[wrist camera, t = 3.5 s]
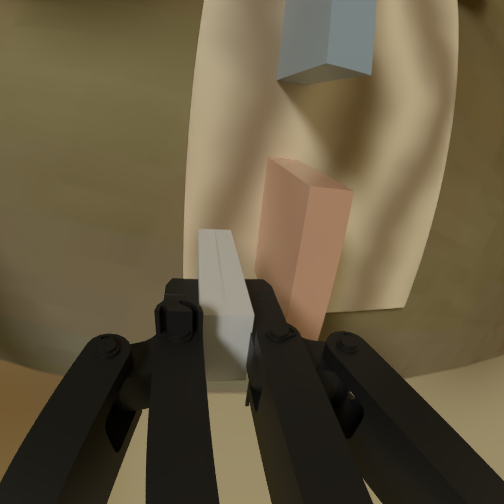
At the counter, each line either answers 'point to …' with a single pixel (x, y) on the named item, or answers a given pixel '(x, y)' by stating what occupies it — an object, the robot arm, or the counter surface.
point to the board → (325, 138)
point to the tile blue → (326, 40)
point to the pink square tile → (301, 240)
